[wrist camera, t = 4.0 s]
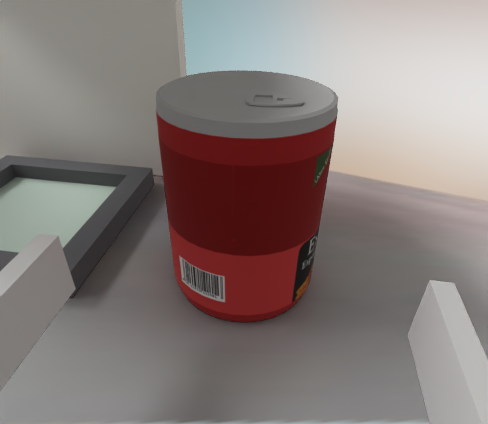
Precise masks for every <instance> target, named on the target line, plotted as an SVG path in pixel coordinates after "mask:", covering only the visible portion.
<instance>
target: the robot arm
mask: <svg viewBox="0 0 488 424" xmlns="http://www.w3.org/2000/svg"><path fill="white" fill-rule="evenodd" d="M75 289H76V288H75V285H74V282H73V279H72V276H71V273H70V270H69V267H68V264H67V261H66V258H65V255H64V251H63V248H62V245H61V242H60V239H59V236H57V235H49V234H40V233H39V234H38V235H37V236H36V237H35V238H34V239H33V240H32V241H31V242H30V243H29V244H28V245H27V246H26V247H25V248H24V249H23V250H22V251H21V252H20V253H19V254H18V255H17V256H16V257H15V258H14V259H12V260H11V261H10V262H9V263H8V264H7V265H6V266H5V267H4V268H3V269H2V270H1V271H0V391H1V390H2V388H3V387H4V385H5V384H6V383H7V381H8V380H9V379H10V377H11V376H12V375H13V373H14V372H15V371H16V369H17V368H18V366H19V365H20V364H21V362H22V361H23V360H24V358H25V357H26V356H27V354H28V353H29V352H30V350H31V349H32V347H33V346H34V345H35V343H36V342H37V341H38V339H39V338H40V337H41V335H42V334H43V333H44V331H45V330H46V329H47V327H48V326H49V324H50V323H51V322H52V320H53V319H54V318H55V316H56V315H57V314H58V312H59V311H60V310H61V308H62V307H63V305H64V304H65V303H66V301H67V300H68V299H69V297H70V296H71V295H72V293H73V292H74V291H75ZM407 335H408V339H409V343H410V347H411V351H412V355H413V359H414V363H415V367H416V371H417V375H418V379H419V383H420V387H421V391H422V395H423V399H424V403H425V407H426V411H427V415H428V418H429V422H430V424H488V359H487V356H486V354H485V352H484V350H483V347H482V345H481V343H480V340H479V338H478V336H477V334H476V331H475V329H474V327H473V325H472V322H471V320H470V318H469V315H468V313H467V311H466V309H465V306H464V304H463V302H462V299H461V297H460V295H459V293H458V290H457V288H456V286H455V283H451V282H443V281H434V280H429V283H428V285H427V288H426V290H425V292H424V295H423V297H422V300H421V302H420V305H419V307H418V310H417V312H416V315H415V317H414V319H413V322H412V324H411V327H410V329H409V332H408V334H407Z"/></svg>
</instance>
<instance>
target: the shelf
mask: <svg viewBox="0 0 488 424" xmlns="http://www.w3.org/2000/svg"><path fill="white" fill-rule="evenodd" d="M185 76H187V75H186V59H185V44H184V28H183V14H182V0H0V159H1V158H3V157H5V156H6V155H12V156H23V157H34V158H45V159H56V160H67V161H78V162H90V163H101V164H112V165H123V166H134V167H145V168H152V171H153V175H157V176H163V171H162V163H161V155H160V146H159V138H158V125H157V116H156V92H157V91H158V89H159V88H160V87H161V86H163V85H165V84H166V83H168V82H170V81H173V80H175V79H178V78H181V77H185Z"/></svg>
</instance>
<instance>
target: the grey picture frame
mask: <svg viewBox="0 0 488 424" xmlns="http://www.w3.org/2000/svg"><path fill="white" fill-rule="evenodd" d="M153 185H154V178H153V171H152V168H145V167H134V166H123V165H112V164H101V163H90V162H78V161H67V160H56V159H45V158H34V157H23V156H12V155H6V156H5V157H3V158H1V159H0V271H1V270H2V269H3V268H4V267H5V266H6V265H7V264H8V263H9V262H10V261H11V260H12V259H14V258H15V257H16V256H17V255H18V254H19V253H20V252H21V251H22V250H23V249H24V248H25V247H26V246H27V245H28V244H29V243H30V242H31V241H32V240H33V239H34V238H35V237H36V236H37V235H38V234H39V233H40V234H49V235H57V236H59V239H60V242H61V245H62V248H63V251H64V255H65V258H66V261H67V264H68V267H69V270H70V273H71V276H72V279H73V282H74V285H75V288H76V289H75V291H74V292H73V293H72V295H71V296H70V297H69V298H73V296H74V295H75V294H76V292H77V291H78V289H79V288H80V287H81V285H82V284H83V282H84V281H85V280H86V278H87V277H88V276H89V274H90V273H91V271H92V270H93V269H94V267H95V266H96V264H97V263H98V262H99V260H100V259H101V257H102V256H103V255H104V253H105V252H106V251H107V249H108V248H109V246H110V245H111V244H112V242H113V241H114V239H115V238H116V237H117V235H118V234H119V232H120V231H121V230H122V228H123V227H124V226H125V224H126V223H127V221H128V220H129V219H130V217H131V216H132V214H133V213H134V212H135V210H136V209H137V207H138V206H139V205H140V203H141V202H142V201H143V199H144V198H145V196H146V195H147V194H148V192H149V191H150V189H151V188H152V187H153Z"/></svg>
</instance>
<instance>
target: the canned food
mask: <svg viewBox="0 0 488 424" xmlns="http://www.w3.org/2000/svg"><path fill="white" fill-rule="evenodd" d="M337 102H338V97H337V95H336V93H335V92H333V91H332V90H331V89H330V88H328V87H326V86H324V85H322V84H320V83H318V82H315V81H312V80H309V79H306V78H301V77H298V76H293V75H287V74H281V73H273V72H262V71H219V72H207V73H200V74H194V75H189V76H185V77H181V78H178V79H175V80H173V81H170V82H168V83H166V84H165V85H163V86H161V87H160V88H159V89H158V91H157V92H156V116H157V125H158V138H159V146H160V155H161V163H162V171H163V179H164V188H165V196H166V204H167V212H168V221H169V229H170V237H171V245H172V254H173V262H174V270H175V276H176V279H177V282H178V284H179V286H180V288H181V290H182V291H183V293H184V294H185V296H186V297H187V299H188V300H189V301H190V302H191V303H192V304H193V305H194V306H195V307H196V308H198V309H199V310H201V311H203V312H205V313H206V314H208V315H211V316H214V317H216V318H219V319H223V320H228V321H233V322H254V321H262V320H266V319H269V318H273V317H276V316H278V315H280V314H282V313H284V312H286V311H287V310H288V309H290V308H291V307H293V306H294V305H295V304H296V302H297V301H298V300H299V299H300V298H301V296H302V295H303V293H304V292H305V290H306V288H307V286H308V284H309V282H310V278H311V272H312V266H313V260H314V254H315V248H316V242H317V236H318V230H319V225H320V219H321V213H322V207H323V201H324V195H325V189H326V183H327V177H328V171H329V165H330V159H331V153H332V147H333V141H334V131H335V125H336V119H337V111H338V110H337Z"/></svg>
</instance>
